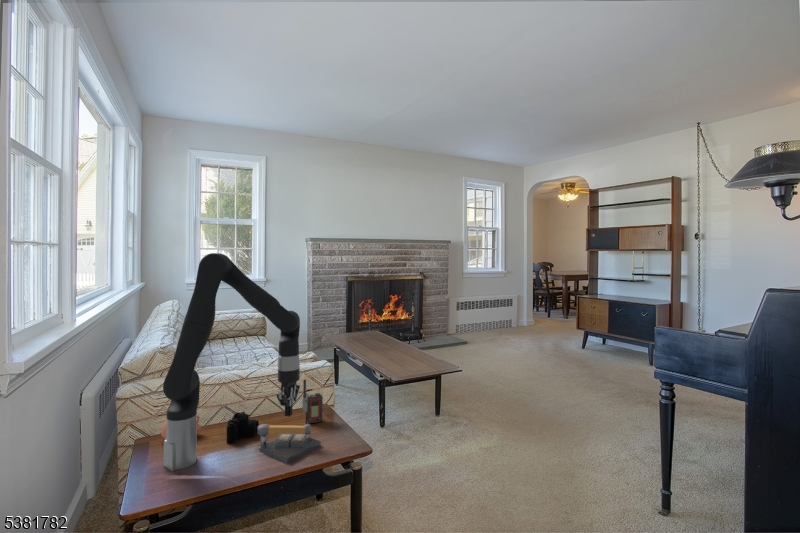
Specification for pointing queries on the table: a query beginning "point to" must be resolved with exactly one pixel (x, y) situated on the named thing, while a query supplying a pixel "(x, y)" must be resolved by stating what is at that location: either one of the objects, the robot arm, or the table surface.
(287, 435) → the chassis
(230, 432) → the film camera
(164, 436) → the sugar bowl
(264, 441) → the post
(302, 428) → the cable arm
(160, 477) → the table surface
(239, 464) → the table surface
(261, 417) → the table surface
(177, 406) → the robot arm
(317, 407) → the walkie-talkie
